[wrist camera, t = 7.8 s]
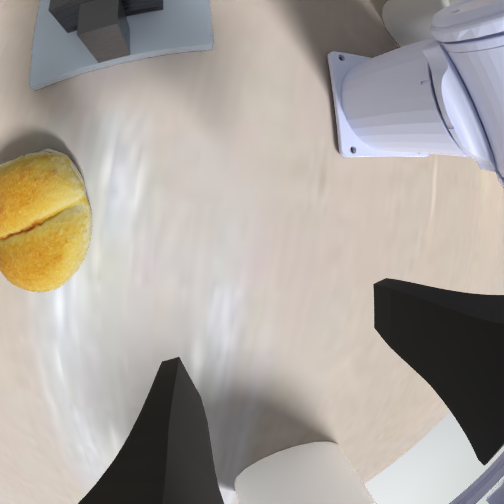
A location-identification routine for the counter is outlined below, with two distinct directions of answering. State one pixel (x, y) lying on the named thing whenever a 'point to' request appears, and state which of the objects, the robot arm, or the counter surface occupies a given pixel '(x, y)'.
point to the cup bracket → (101, 23)
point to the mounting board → (141, 40)
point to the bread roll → (42, 220)
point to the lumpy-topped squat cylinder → (411, 18)
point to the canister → (302, 478)
